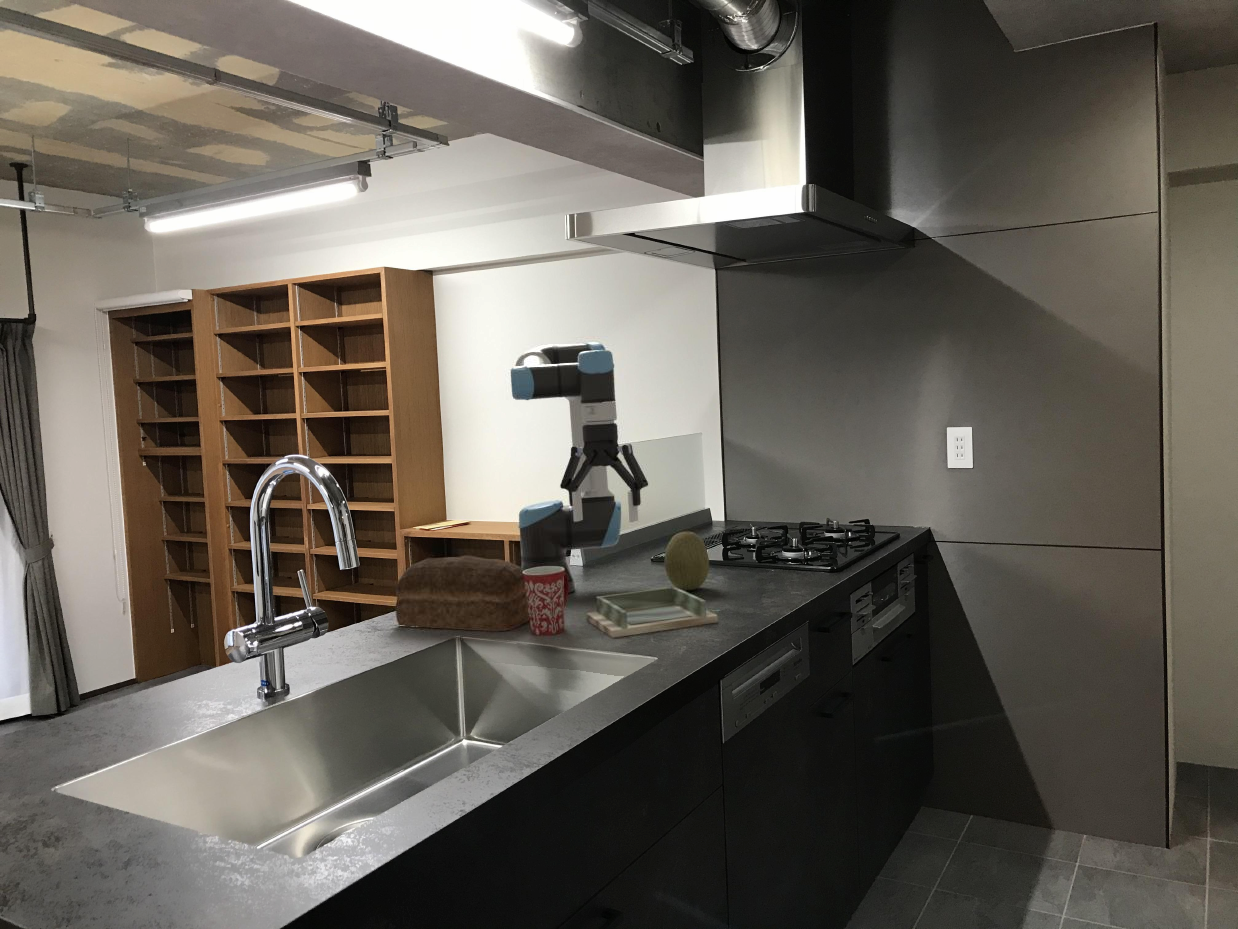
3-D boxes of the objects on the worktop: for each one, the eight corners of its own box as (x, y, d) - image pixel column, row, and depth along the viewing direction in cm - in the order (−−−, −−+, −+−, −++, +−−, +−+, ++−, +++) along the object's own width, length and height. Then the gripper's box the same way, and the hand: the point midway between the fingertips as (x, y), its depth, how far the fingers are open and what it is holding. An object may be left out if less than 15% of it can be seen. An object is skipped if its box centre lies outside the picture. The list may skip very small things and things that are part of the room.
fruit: (658, 589, 244) (655, 531, 242) (697, 583, 248) (694, 526, 247) (678, 596, 233) (675, 536, 232) (719, 590, 237) (715, 531, 236)
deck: (587, 620, 214) (585, 598, 214) (685, 606, 222) (684, 585, 221) (612, 637, 197) (610, 613, 197) (717, 622, 205) (716, 599, 204)
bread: (426, 613, 232) (421, 549, 231) (542, 618, 220) (537, 550, 219) (389, 628, 219) (384, 560, 218) (510, 634, 206) (505, 562, 205)
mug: (551, 638, 200) (547, 575, 199) (518, 634, 205) (513, 572, 204) (586, 624, 210) (582, 564, 209) (554, 621, 215) (550, 562, 214)
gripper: (540, 426, 207) (547, 523, 208) (644, 421, 195) (650, 524, 197) (558, 424, 213) (564, 518, 215) (659, 419, 202) (665, 518, 203)
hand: (605, 521), depth 206 cm, fingers open, 13 cm apart
